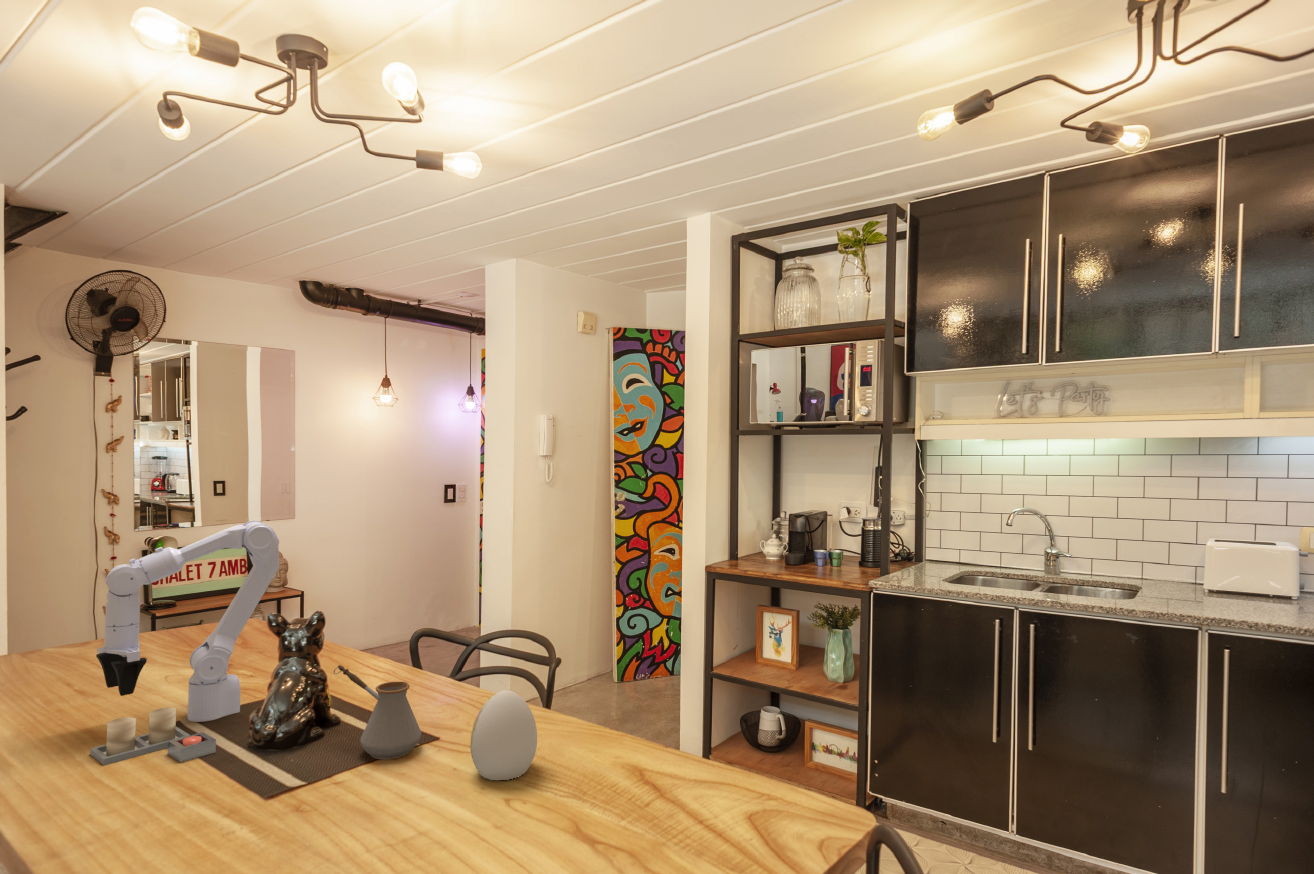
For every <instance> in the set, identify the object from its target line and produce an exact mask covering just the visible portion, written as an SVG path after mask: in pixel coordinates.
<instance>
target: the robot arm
mask: <svg viewBox="0 0 1314 874" xmlns="http://www.w3.org/2000/svg"><path fill="white" fill-rule="evenodd" d="M279 544H280V539H279V538H278V536H277V534H276V532H275V530H274V528H273V527H272V526H270V525H268V524H266V523H263V522H262V521H259V520H249V521H247V522H245V523H243V524H236V525H234V526H231V527H228V528H225V529H222V530H220V531H218V532H215V533H213V534H211V535H208V536H206V537H204V538H201V539H200V540H198V541H196V542H193V543H191V544H188V545H186V546H183V547H181V548H174V547H170V546H168V547H165V548H163V547H162V546H160V547H157V548H155V549H154V551H155V552H152V553H150V554H148V555H144V556H142V557H140V558H138V559H135V557H134V558H132V559H129V560H128V561H129V563H127V564H125V563H123V564H118V565H116V566H114V567H113V568H111V570H110V571H108V572H107V575H106V578H105V583H106V586H107V588H108V590H107V593H106V600H107V601H106V603H105V618H104V621H105V622H104V640H103V647H98V648H96V653H97V654H96V655H95V656H96V658H97V660H98V661H99V663H100V665H101V669H102V672H103V675H104V681H105V684H106V687H107V689H109V688H115V687H118V693H119V696H120V697H123V696H127V695H132V694H134V692H135V688H136V686H137V682H138V679H139V676H140V673H141V672H142V670H143V668H144V666H145V665H146V664H147V660H148V658H146V657H141V650H140V647H141V643H140V624H141V623H140V621H141V620H140V619H141V618H140V617H141V615H140V614H141V599H140V589H141V588H142V586H143V585H145V586H147V585H151V584H152V583H155V582H158V581H159V580H162V579H166V578H168V577H169V576H172V575H174V574H176V573H179V572H181V570H182V569H183V567H184V565H185V564H186V563H188V562H191V561H194V560H196V559H198V558H201V557H204V556H207V555H210V554H213V553H215V552H217V551H220V550H223V549H226V548H227V549H235V550H238V549H239V550H242V549H243V548H244V549H245V550H246V552H248V553H247V554H248V555H249V559H250V561H251V564H252V567H251V569H250V571H249V573H248V574H247V576H246V578H245V579H244V581H243V583H242V584H241V585H240V586H239V587H240V588H239V589H238V590H237V592H236V594H235V595H234V597H233V599H232V600H231V602H230V604H229V606H227V608H226V611H225V612H224V614H223V616H222V617H221V618H220V620H219V622H218V623H217V625H216V627H215V628H214V630H213V631H212V632H211V633H210V634H209V635H208V636H207V637H206V638H205V641H204V642H203V643H202V644H200V645H199V646H198V647H196V648H195V649H194V650H193V651H192V653H191V655H190V657H189V665H190V667H191V668H192V670H193V673H192V675H191V676H190V677H189V678H188V690H187V691H188V694H187V720H188V721H190V722H195V723H199V722H208V721H209V722H210V721H214V720H218V719H220V718H223V717H226V716H227V717H228V716H229V715H233V714H237V713H240V712H241V683H240V679H239V677H238V675H237V674H233V673H232V674H228V673H227V671H228V669H229V661H230V658H231V656H232V654H233V652H234V648H235V645H236V641H237V640H238V638H239V636H240V634H241V633H242V631H243V629H244V627H245V626H246V624H247V623H248V621H249V620H250V617H251V616H252V614H253V613H254V611H255V609H256V608H257V606H258V604H259V602H260V601H261V599H262V598H263V595H264V594H265V593H266V591H267V590H268V587H269V586H270V584H271V583H272V581H273V579H274V577H275V576H276V574H277V572H278V571H279V569H280V552H279V551H280V549H279V546H280V545H279Z"/></svg>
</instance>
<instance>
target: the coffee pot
mask: <svg viewBox="0 0 1314 874" xmlns="http://www.w3.org/2000/svg"><path fill="white" fill-rule="evenodd" d="M337 669H338V670H339V671H338V672H337V673H336V672H335V671H336V670H337ZM341 672H342V673H343V675H344V676H347V677H348V679H349V680H350V681H351V682H353V683H354V684H356V685H357V686H359V688H362V689H363V690H365V691H367V693H369V694H370V695H371V696H372V697H373V698H374V699H375V700H377V701H376V703H375V705H374V707H373V710H372V712H371V713H370V717H369V719H368V720H367V724H366V726H365V728H364V730H363V732H362V735H361V737H360V739H359V742H360V745H361V748H362V749H363V750H364V751H365V752H366V753H367V754H369V755H370V757H372V758H374V759H377V760H393V759H398V758H402V757H404V756H406V755H408V754H409V753H410V752H411V751H412V750H413V749H414V748H415V747H416V746H417V745H418V743H419V742H420V740H421V738H422V730H421V728H420V726H419V723H418V722H417V718H416V716H415V714H414V712H413V710H412V707H411V705H410V702H409V700H408V697H407V693H408V689H410V687H411V685H410V684H409V682H406V681H390V682H384V683H380V684H378V685H376V687H375V691H374V690H373V689H372V688H370V687H369V686H368V685H367V684H366V683H365V682H364V681H363V680H362V679H360V677H359V676H357V675H356V674H355V673H352V672H351V671H349V669H348V668H345V666H342V665H341V664H338V665H337V667H336V668H334V670H333V674H335V675H338V674H340V673H341Z"/></svg>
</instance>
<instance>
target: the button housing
mask: <svg viewBox="0 0 1314 874" xmlns="http://www.w3.org/2000/svg"><path fill="white" fill-rule="evenodd" d="M191 736H201V737H202V738H201V742H199V743H195V744H191V745H188V746H183V739H185V738H187V737H191ZM216 749H217V739H216V738H214V737H212V736H211V735H209V734H207V733H205V732H204V731H201V732H198V733H194V734H190V735H189V736H186V737H182V738H178V739H175V740H171V741H168V748H167V755H168V756H170V757H171V758H173V759H174V760H175V761H177V762H179V763H184V762H189V761H190V760H194V759H197V758H201V757H205V756H207V755H212V754H214V753H215V754H216V753H217V752H216Z"/></svg>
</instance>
